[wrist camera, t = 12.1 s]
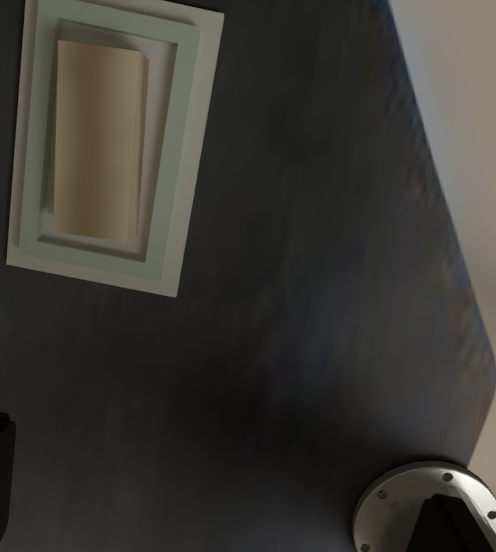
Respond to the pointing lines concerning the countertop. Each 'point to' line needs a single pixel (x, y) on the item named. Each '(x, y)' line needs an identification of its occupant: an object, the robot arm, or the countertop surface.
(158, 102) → the white flat rectangular tray
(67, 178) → the birch tile
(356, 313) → the countertop surface
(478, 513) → the robot arm
